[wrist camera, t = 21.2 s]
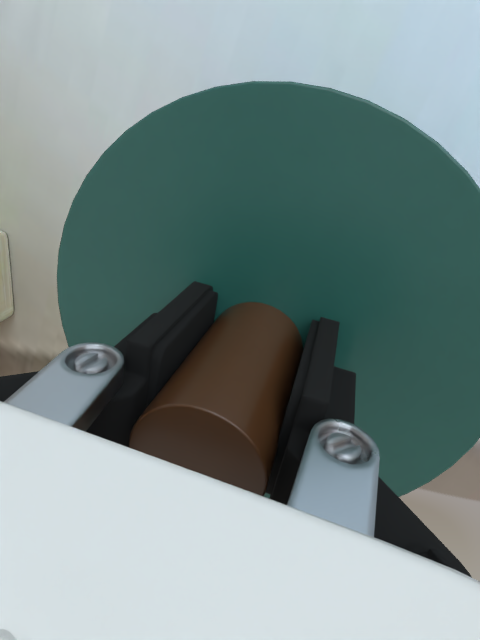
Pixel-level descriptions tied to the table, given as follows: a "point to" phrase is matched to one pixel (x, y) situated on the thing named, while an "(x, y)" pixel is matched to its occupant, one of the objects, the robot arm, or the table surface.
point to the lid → (286, 273)
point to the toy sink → (5, 279)
